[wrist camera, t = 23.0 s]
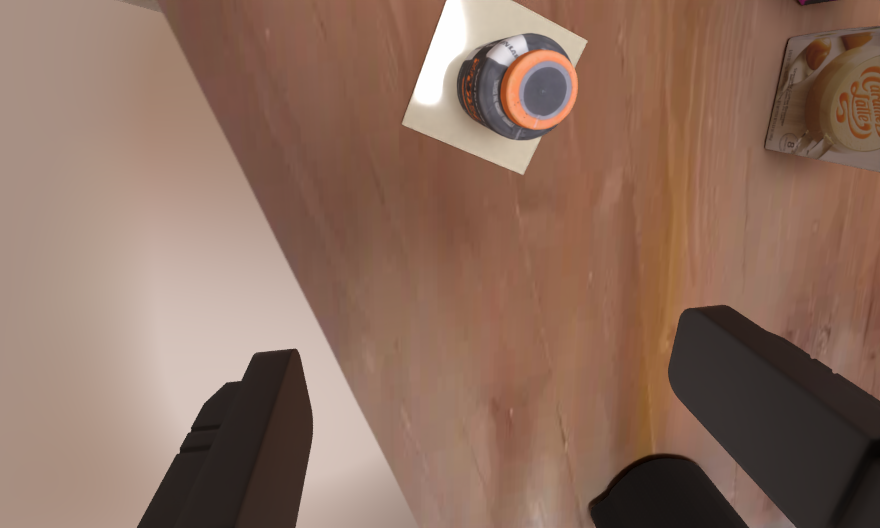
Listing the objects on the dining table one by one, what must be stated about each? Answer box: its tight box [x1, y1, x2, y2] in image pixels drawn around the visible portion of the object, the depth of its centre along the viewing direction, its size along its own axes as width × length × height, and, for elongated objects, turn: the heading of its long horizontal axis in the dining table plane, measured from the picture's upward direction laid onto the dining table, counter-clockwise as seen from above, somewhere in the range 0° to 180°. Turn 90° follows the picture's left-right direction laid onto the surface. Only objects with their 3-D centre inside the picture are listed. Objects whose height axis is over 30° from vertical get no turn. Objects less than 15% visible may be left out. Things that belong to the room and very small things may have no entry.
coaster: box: [401, 0, 587, 175], centre depth 33 cm, size 11×11×1 cm
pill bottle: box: [457, 33, 578, 140], centre depth 27 cm, size 6×6×11 cm
